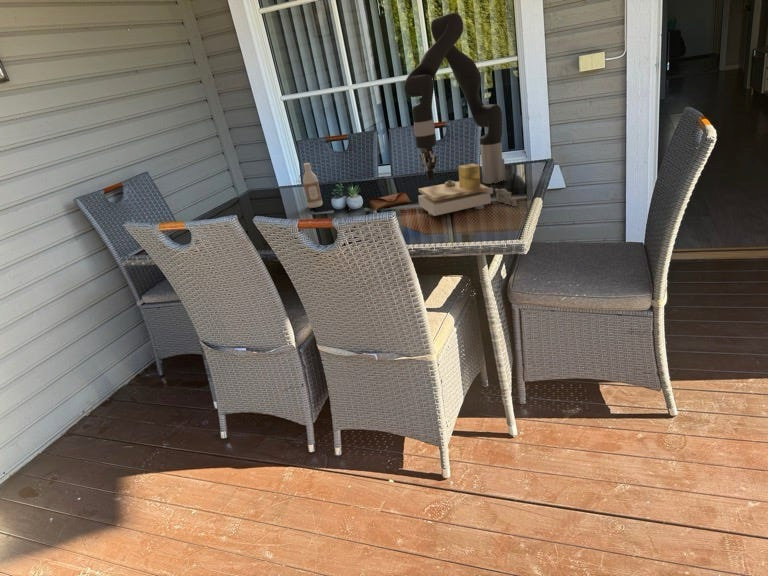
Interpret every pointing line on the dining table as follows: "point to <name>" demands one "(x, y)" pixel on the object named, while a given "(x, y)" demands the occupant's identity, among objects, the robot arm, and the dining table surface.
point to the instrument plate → (457, 184)
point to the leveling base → (455, 202)
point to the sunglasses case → (388, 201)
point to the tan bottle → (311, 187)
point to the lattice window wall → (505, 197)
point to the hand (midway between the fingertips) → (430, 179)
